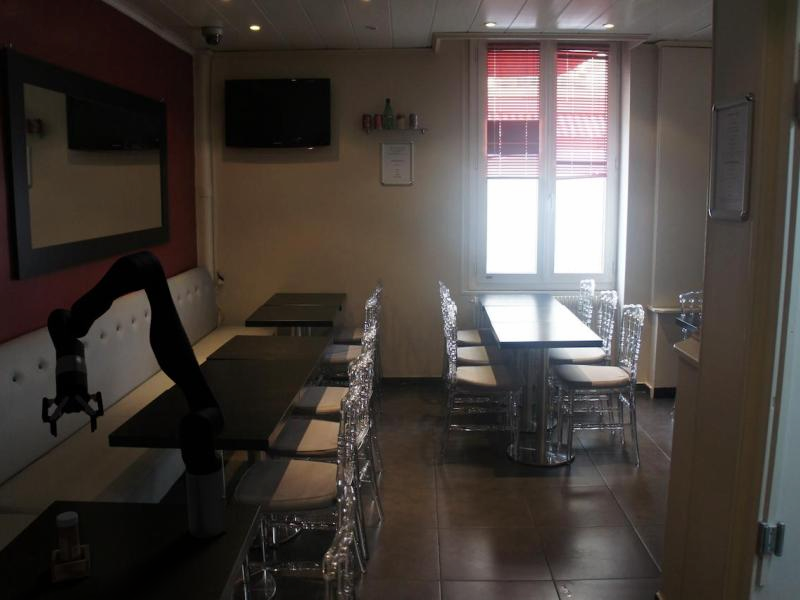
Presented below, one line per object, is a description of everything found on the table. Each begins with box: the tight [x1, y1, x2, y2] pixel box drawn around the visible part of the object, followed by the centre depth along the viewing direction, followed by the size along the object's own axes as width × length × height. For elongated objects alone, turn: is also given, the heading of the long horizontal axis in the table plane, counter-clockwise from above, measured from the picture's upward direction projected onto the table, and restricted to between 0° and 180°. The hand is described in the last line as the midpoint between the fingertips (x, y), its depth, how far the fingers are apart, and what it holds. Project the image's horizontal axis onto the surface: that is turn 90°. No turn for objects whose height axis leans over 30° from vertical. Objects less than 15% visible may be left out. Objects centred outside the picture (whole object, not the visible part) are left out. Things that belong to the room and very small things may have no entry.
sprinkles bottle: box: [55, 511, 81, 564], centre depth 176 cm, size 5×5×13 cm
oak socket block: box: [50, 543, 91, 584], centre depth 176 cm, size 8×8×4 cm
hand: (74, 433), depth 186 cm, fingers open, 8 cm apart
